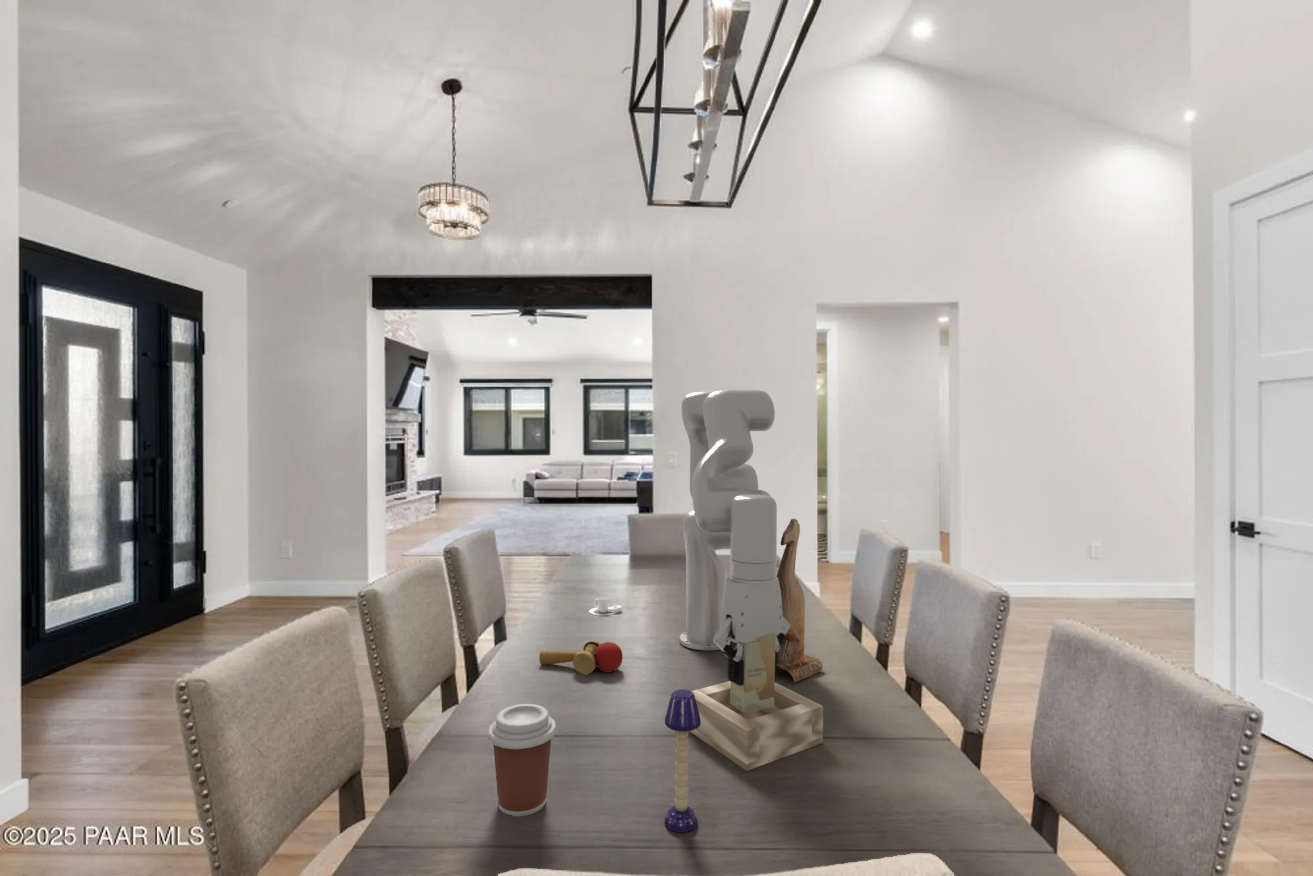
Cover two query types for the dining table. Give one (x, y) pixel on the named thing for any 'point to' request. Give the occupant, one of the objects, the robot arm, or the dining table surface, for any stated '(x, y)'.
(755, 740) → the holder
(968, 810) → the dining table surface
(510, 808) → the coffee cup
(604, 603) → the teacup and saucer
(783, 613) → the bird sculpture
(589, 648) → the kendama
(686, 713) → the toy lamp
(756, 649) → the skincare box
